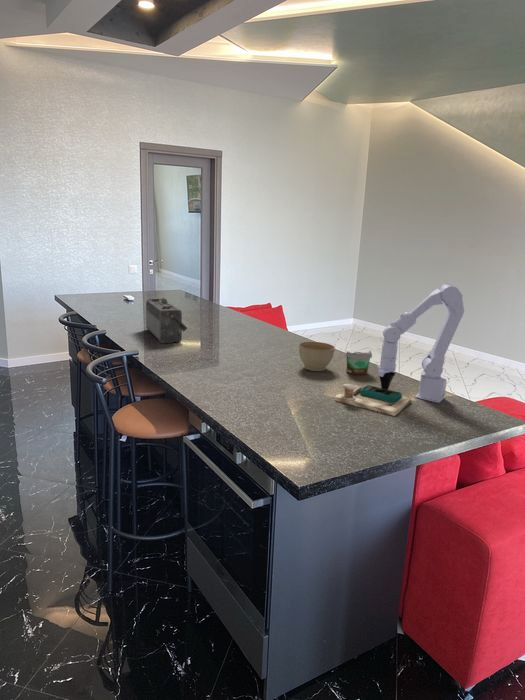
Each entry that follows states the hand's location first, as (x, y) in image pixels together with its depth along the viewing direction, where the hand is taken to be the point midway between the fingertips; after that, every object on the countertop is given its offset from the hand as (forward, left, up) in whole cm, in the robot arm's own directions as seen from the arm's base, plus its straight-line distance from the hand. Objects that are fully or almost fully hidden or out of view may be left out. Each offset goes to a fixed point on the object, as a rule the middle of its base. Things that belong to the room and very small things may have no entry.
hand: (384, 389), depth 190 cm
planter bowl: (+37, -11, -2) cm, 39 cm away
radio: (+130, -9, -2) cm, 131 cm away
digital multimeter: (0, +4, -2) cm, 5 cm away
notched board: (0, +12, -1) cm, 12 cm away
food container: (+18, -17, -2) cm, 25 cm away
